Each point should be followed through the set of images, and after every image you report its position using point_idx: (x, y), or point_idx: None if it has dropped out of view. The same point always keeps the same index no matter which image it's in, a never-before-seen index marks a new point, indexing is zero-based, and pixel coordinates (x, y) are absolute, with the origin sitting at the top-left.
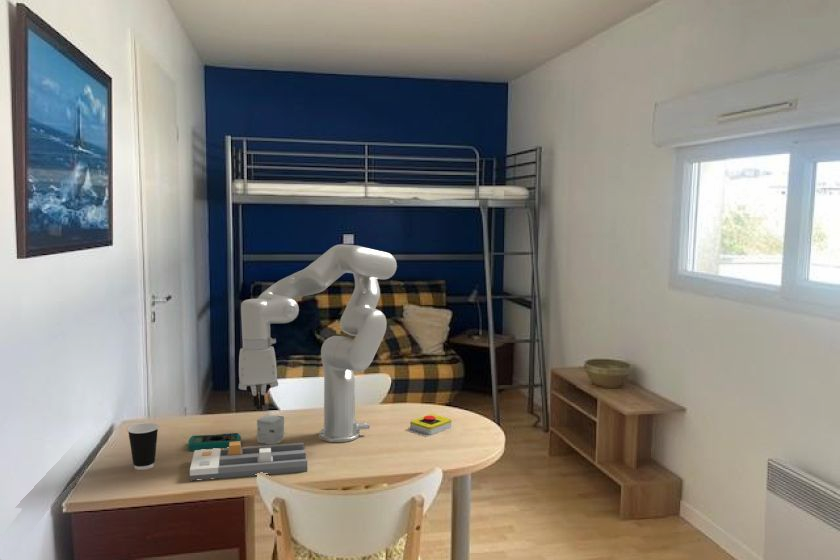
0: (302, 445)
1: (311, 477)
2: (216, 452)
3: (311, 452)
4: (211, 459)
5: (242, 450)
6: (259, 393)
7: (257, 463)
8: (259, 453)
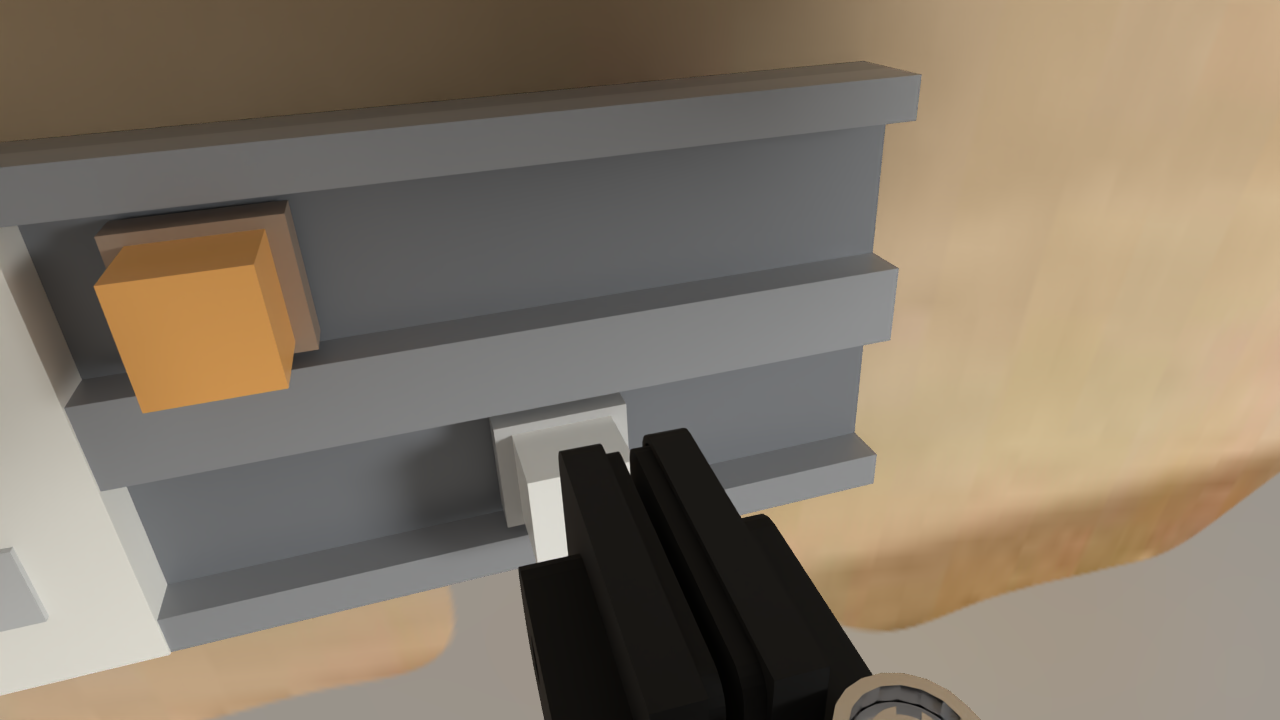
0: (896, 119)
1: (839, 518)
2: None
3: (925, 62)
4: (3, 502)
5: (293, 253)
6: (750, 711)
7: (509, 550)
8: (528, 512)
